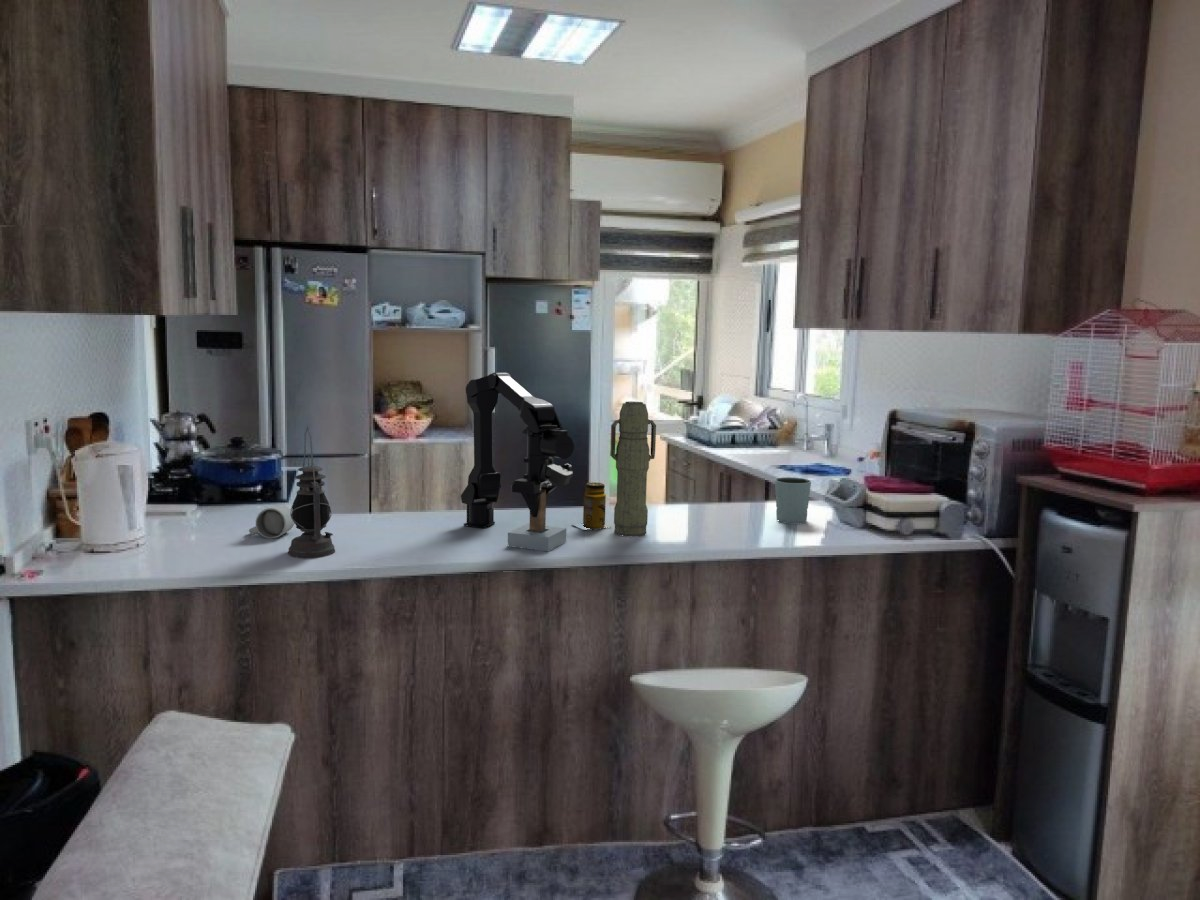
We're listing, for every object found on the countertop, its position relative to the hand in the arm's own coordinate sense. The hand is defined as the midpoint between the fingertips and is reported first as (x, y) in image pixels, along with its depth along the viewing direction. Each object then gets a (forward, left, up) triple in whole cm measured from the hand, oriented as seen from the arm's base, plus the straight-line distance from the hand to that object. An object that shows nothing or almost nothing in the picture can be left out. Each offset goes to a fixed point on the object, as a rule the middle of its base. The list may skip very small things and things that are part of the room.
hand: (537, 515), depth 218 cm
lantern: (-44, -31, -7) cm, 54 cm away
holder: (0, 0, -7) cm, 7 cm away
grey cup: (+54, +58, -7) cm, 80 cm away
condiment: (+5, +24, -8) cm, 26 cm away
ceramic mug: (-64, -22, -8) cm, 68 cm away
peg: (0, 0, -4) cm, 4 cm away
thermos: (+17, +22, -7) cm, 29 cm away
